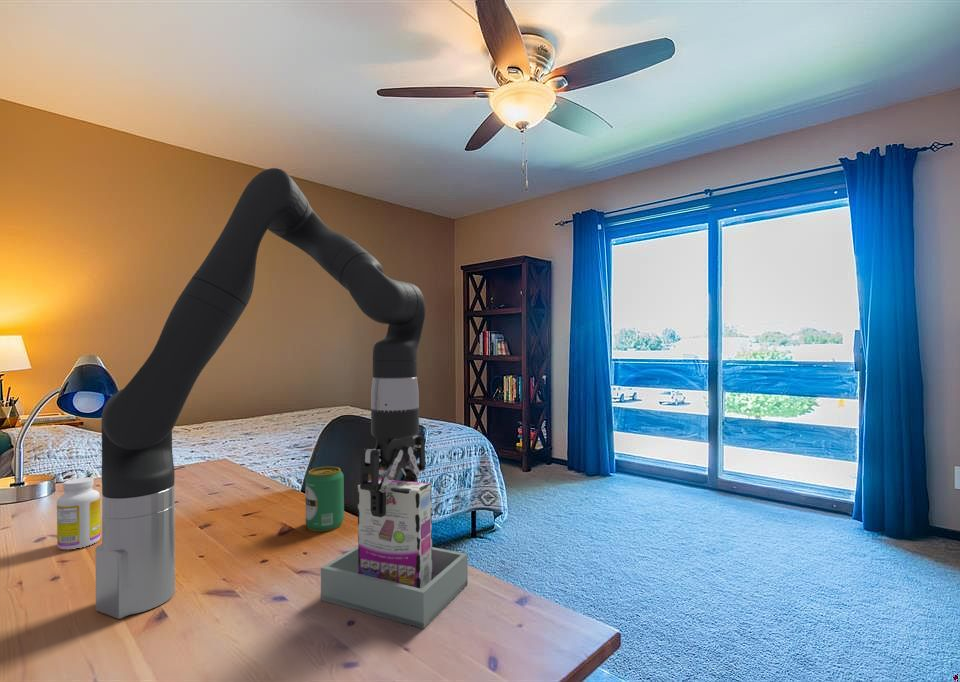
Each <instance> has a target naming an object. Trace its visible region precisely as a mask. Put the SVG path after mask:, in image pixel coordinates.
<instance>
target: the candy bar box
mask: <svg viewBox="0 0 960 682" xmlns="http://www.w3.org/2000/svg"><path fill="white" fill-rule="evenodd" d="M370 480H371V479H368V482H370ZM381 480H382V478H379V482H378V483H379V484H380V482H381ZM385 492H386V515H385V516H383V517H376V516H373V515H372V513H371V494H370V491H368V490H362V489H361V488H360V484H358V485H357V543H358V544H357V546H358V574H362V575H366V576H370V577H374V578H379V579H383V580H387V581H391V582H395V583H399V584H403V585H408V586H412V587H416V588H420V589H422V588H423V587H424V586H426V585H427V584H428V583H429V582H430V581H431V580H433V579H432V547H433V535H432V534H433V533H432V528H433V526H432V525H433V524H432V523H433V521H432V516H433V515H432V512H433V510H432V483H431V482H430V483H429V482H420V481H417V482H410V481H404V480H396V479H395V480H394V479H390V480H389V482H388V484H387V487H386V489H385Z"/></svg>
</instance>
